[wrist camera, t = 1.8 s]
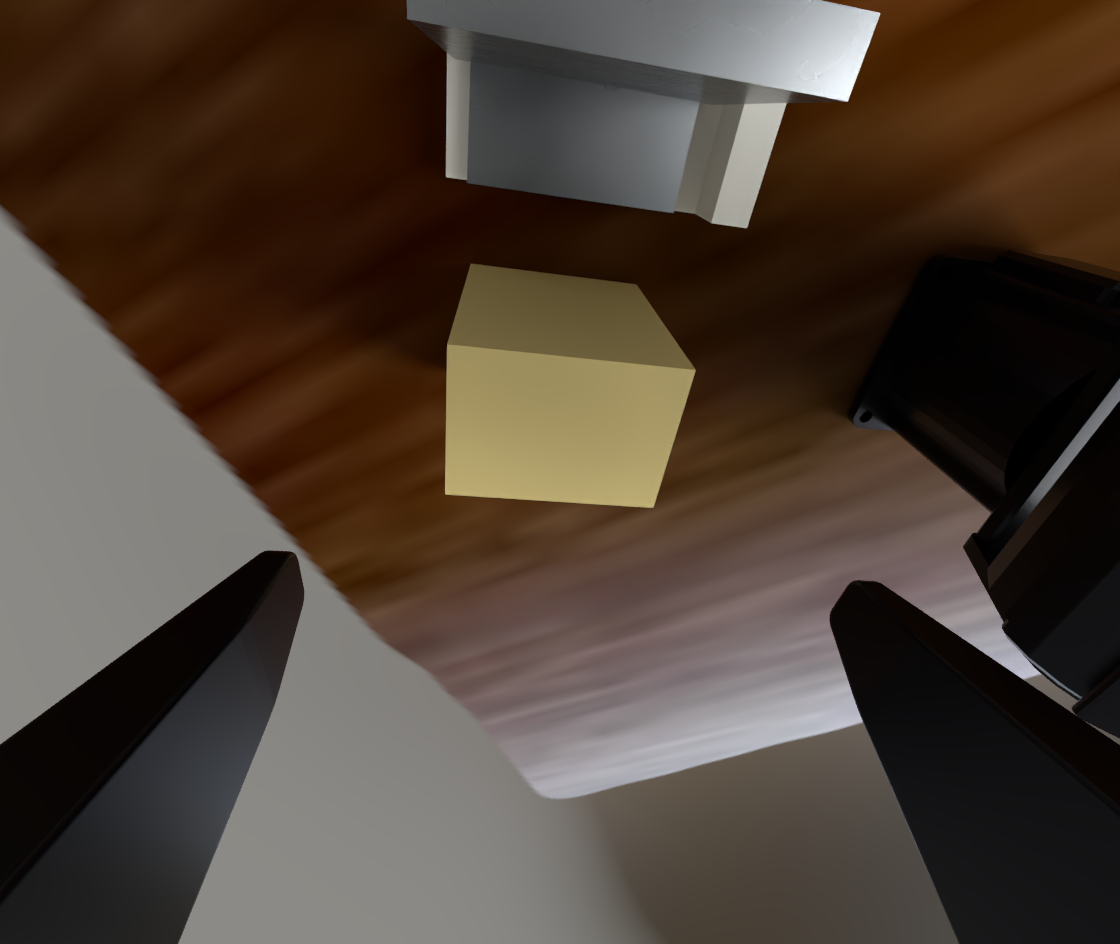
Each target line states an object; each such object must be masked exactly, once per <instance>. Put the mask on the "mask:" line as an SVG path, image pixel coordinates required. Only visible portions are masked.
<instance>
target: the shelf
mask: <svg viewBox="0 0 1120 944" xmlns="http://www.w3.org/2000/svg"><path fill="white" fill-rule="evenodd" d="M470 63H471V62H469V61H463V60H458V59H454V58H453V57H451V56H450V55H449V54H448V53H447V112H446V177H449V178H456V179H462V180H467V163H468V130H469V97H470ZM786 104H787V103H767V104H727V105H709V104H704V103H700V104H699V108H698V112H697V116H696V121H695V125H694V129H693V133H692V137H691V142H690V146H689V150H688V154H687V158H686V163H685V167H684V171H683V175H682V179H681V184H680V188H679V192H678V196H677V200H676V205H675V209H674V211H680V212H686V213H693V214H696V215H698V216H700V217H701V218H703V219H705V220H707V221H708V222H710V223H713V224H720V225H727V226H734V227H741V228H747V227H748V224H749V220H750V217H751V214H752V211H753V208H754V205H755V201H756V198H757V195H758V192H759V189H760V186H761V183H762V179H763V176H764V173H765V170H766V167H767V164H768V160H769V157H770V154H771V151H772V148H773V145H774V142H775V138H776V135H777V132H778V129H779V126H780V123H781V119H782V116H783V113H784V110H785V107H786Z"/></svg>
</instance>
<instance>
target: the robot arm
mask: <svg viewBox="0 0 1120 944" xmlns="http://www.w3.org/2000/svg"><path fill="white" fill-rule="evenodd" d="M943 266H944V269H943V271H942V273H941V274H940V275H938V276H937V277H936V275H937V272H938V270H939V269H940V268H941V267H943ZM864 412H866V414H865V415H864V416H862V417H860V416H861V415H862V414H863V413H864ZM848 419H849V420H850V421H851V422H852V423H853V424H854V425H855V426H856V427H859V428H867V429H878V430H889V431H895V432H896V433H897V434H899V435H900V436H901V437H902V438H903V439H904V440H906V441H907V442H908V443H909V444H910V445H912V446H913V447H914V448H915V449H916V450H917V451H919V452H920V453H921V454H922V455H923V456H925V457H926V458H927V459H928V460H929V461H930V462H932V463H933V464H934V465H935V466H936V467H938V468H939V469H940V470H941V471H942V472H943V473H945V474H946V475H947V476H948V477H949V478H951V479H952V480H953V481H954V482H955V483H956V484H958V485H959V486H960V487H961V488H962V489H964V490H965V491H966V492H967V493H968V494H969V495H971V496H972V497H973V498H974V499H975V500H977V501H978V502H979V503H980V504H981V505H982V506H984V507H985V508H986V509H987V510H988V511H990V512H991V514H990V516H989V517H988V518H987V520H986V521H985V523H984V524H983V525H982V527H981V528H980V529H979V531H978V532H977V533H973V534H972V535H971V536H970V537H969V539H968V540H967V542H966V543H965V544H964V546H963V548H964V550H965V552H966V554H967V555H968V557H969V559H970V561H971V563H972V565H973V567H974V568H975V570H976V572H977V574H978V576H979V578H980V579H981V581H982V583H983V585H984V587H985V589H986V590H987V592H988V594H989V596H990V598H991V600H992V601H993V603H994V605H995V607H996V609H997V611H998V612H999V614H1000V616H1001V618H1002V620H1003V622H1004V623H1003V624H1002V629H1003V631H1004V633H1005V634H1006V636H1007V638H1008V639H1009V640H1010V641H1011V642H1012V643H1013V644H1014V645H1015V646H1016V647H1017V648H1018V650H1019V651H1020V652H1021V653H1022V654H1023V655H1024V656H1025V657H1026V658H1027V660H1028V661H1029V662H1030V663H1031V664H1032V665H1033V666H1034V668H1035V669H1037V670H1038V671H1039V672H1040V673H1041V674H1043V675H1044V676H1045V677H1046V678H1047V679H1049V680H1050V681H1051V682H1052V683H1053V684H1055V685H1056V686H1057V687H1059V688H1060V689H1062V690H1063V691H1065V692H1066V693H1068V694H1069V695H1070V696H1072V697H1074V698H1075V699H1077V700H1078V701H1077V702H1076V703H1075V704H1074V705H1073V706H1072V710H1073V712H1074V713H1075V714H1076V715H1077V716H1078V717H1077V716H1076V715H1074V714H1073V713H1071V712H1070V711H1069V710H1067V709H1065V708H1064V707H1063V706H1061V705H1060V704H1058V703H1057V702H1055V701H1054V700H1052V699H1051V698H1049V697H1048V696H1046V695H1045V694H1043V693H1042V692H1041V691H1039V690H1037V689H1036V688H1035V687H1033V686H1032V685H1030V684H1029V683H1027V682H1026V681H1024V680H1023V679H1021V678H1020V677H1018V676H1017V675H1015V674H1014V673H1012V672H1011V671H1010V670H1008V669H1007V668H1005V667H1004V666H1002V665H1001V664H999V663H998V662H996V661H995V660H993V659H992V658H990V657H989V656H987V655H986V654H984V653H983V652H982V651H980V650H979V649H977V648H976V647H974V646H973V645H971V644H970V643H968V642H967V641H965V640H964V639H962V638H961V637H959V636H958V635H956V634H955V633H954V632H952V631H951V630H949V629H948V628H946V627H945V626H943V625H942V624H940V623H939V622H937V621H936V620H934V619H933V618H931V617H930V616H928V615H927V614H925V613H924V612H923V611H921V610H920V609H918V608H917V607H915V606H914V605H912V604H911V603H909V602H908V601H906V600H905V599H903V598H902V597H900V596H899V595H897V594H896V593H895V592H893V591H892V590H890V589H889V588H887V587H886V586H884V585H883V584H881V583H879V582H875V581H861V580H856V581H853V582H851V583H850V584H849V585H848V586H847V587H846V589H845V590H844V592H843V593H842V595H841V596H840V598H839V599H838V601H837V602H836V604H835V605H834V607H833V608H832V610H831V613H830V626H831V629H832V632H833V635H834V638H835V641H836V644H837V647H838V650H839V653H840V657H841V660H842V663H843V666H844V669H845V672H846V675H847V678H848V681H849V684H850V687H851V690H852V693H853V696H854V699H855V702H856V705H857V708H858V711H859V713H860V716H861V718H862V720H863V723H864V725H865V727H866V730H867V732H868V735H869V737H870V739H871V741H872V744H873V746H874V748H875V751H876V753H877V755H878V757H879V760H880V762H881V765H882V767H883V769H884V771H885V774H886V776H887V778H888V781H889V783H890V786H891V788H892V790H893V792H894V795H895V797H896V799H897V802H898V804H899V806H900V809H901V811H902V813H903V816H904V818H905V820H906V822H907V825H908V827H909V829H910V832H911V834H912V836H913V839H914V841H915V843H916V846H917V848H918V850H919V853H920V855H921V857H922V860H923V862H924V864H925V867H926V869H927V871H928V874H929V876H930V878H931V880H932V883H933V885H934V887H935V890H936V892H937V894H938V897H939V899H940V901H941V904H942V906H943V908H944V910H945V912H946V915H947V918H948V920H949V922H950V925H951V927H952V929H953V931H954V934H955V935H956V938H957V941H958V943H959V944H1120V745H1119V744H1117V743H1115V742H1114V741H1113V740H1111V739H1110V738H1108V737H1107V736H1105V735H1104V734H1102V733H1101V732H1099V731H1098V730H1096V729H1095V728H1094V727H1092V726H1091V725H1089V724H1087V723H1086V722H1088V723H1090V724H1092V725H1094V726H1096V727H1098V728H1100V729H1102V730H1104V731H1106V732H1108V733H1110V734H1112V735H1114V736H1116V737H1118V738H1120V272H1118V271H1114V270H1110V269H1107V268H1103V267H1099V266H1095V265H1092V264H1088V263H1084V262H1080V261H1077V260H1073V259H1068V258H1062V257H1055V256H1048V255H1042V254H1035V253H1028V252H1022V251H1015V250H1007V251H1005V252H1003V253H1001V254H999V255H998V256H997V258H996V260H995V261H987V260H980V259H973V258H967V257H960V256H953V255H946V254H942V255H937V256H935V257H933V258H932V259H930V260H929V261H928V262H927V263H926V265H925V266H924V268H923V269H922V271H921V273H920V275H919V277H918V279H917V281H916V283H915V285H914V287H913V289H912V291H911V292H910V294H909V296H908V298H907V300H906V302H905V304H904V306H903V308H902V310H901V312H900V314H899V316H898V318H897V320H896V322H895V323H894V325H893V327H892V329H891V331H890V333H889V335H888V337H887V339H886V341H885V343H884V345H883V347H882V349H881V351H880V352H879V354H878V356H877V358H876V360H875V362H874V364H873V366H872V368H871V370H870V372H869V374H868V376H867V378H866V380H865V381H864V383H863V385H862V387H861V389H860V391H859V393H858V395H857V397H856V399H855V401H854V403H853V405H852V407H851V409H850V410H849V413H848ZM303 601H304V587H303V582H302V578H301V572H300V567H299V562H298V559H297V556H296V554H295V553H293V552H289V551H264V552H262V553H260V554H259V555H257V556H256V557H255V558H253V559H252V560H250V561H249V562H248V563H246V564H245V565H244V566H242V567H241V568H240V569H238V570H237V571H236V572H234V573H233V574H231V575H230V576H229V577H227V578H226V579H225V580H223V581H222V582H221V583H219V584H218V585H217V586H215V587H214V588H212V589H211V590H210V591H209V592H207V593H206V594H204V595H203V596H202V597H200V598H199V599H197V600H196V601H195V602H193V603H192V604H191V605H189V606H188V607H187V608H185V609H184V610H183V611H181V612H180V613H178V614H177V615H176V616H174V617H173V618H172V619H170V620H169V621H167V622H166V623H165V624H163V625H162V626H161V627H159V628H158V629H157V630H155V631H154V632H153V633H151V634H150V635H149V636H147V637H146V638H144V639H143V640H142V641H140V642H139V643H138V644H136V645H135V646H133V647H132V648H131V649H130V650H128V651H127V652H125V653H124V654H123V655H121V656H120V657H119V658H117V659H116V660H114V661H113V662H112V663H110V664H109V665H108V666H106V667H105V668H104V669H102V670H101V671H100V672H98V673H97V674H95V675H94V676H93V677H91V678H90V679H89V680H87V681H86V682H85V683H83V684H82V685H81V686H79V687H78V688H77V689H75V690H74V691H72V692H71V693H70V694H68V695H67V696H66V697H64V698H63V699H61V700H60V701H59V702H57V703H56V704H55V705H53V706H52V707H51V708H50V709H48V710H47V711H45V712H44V713H42V714H41V715H40V716H38V717H37V718H36V719H34V720H33V721H32V722H30V723H29V724H28V725H26V726H25V727H23V728H22V729H21V730H19V731H18V732H17V733H15V734H14V735H12V736H11V737H10V738H8V739H7V740H6V741H4V742H3V743H2V744H0V944H178V943H179V940H180V938H181V935H182V933H183V931H184V928H185V925H186V923H187V921H188V918H189V916H190V913H191V911H192V908H193V906H194V903H195V901H196V898H197V896H198V894H199V891H200V889H201V886H202V884H203V881H204V879H205V876H206V874H207V871H208V869H209V866H210V864H211V861H212V859H213V856H214V854H215V851H216V849H217V847H218V844H219V842H220V839H221V837H222V834H223V832H224V829H225V827H226V824H227V822H228V819H229V817H230V814H231V812H232V809H233V807H234V805H235V802H236V800H237V797H238V795H239V792H240V790H241V787H242V785H243V783H244V780H245V778H246V775H247V772H248V770H249V767H250V765H251V763H252V760H253V758H254V755H255V753H256V750H257V748H258V746H259V743H260V741H261V738H262V736H263V733H264V731H265V728H266V726H267V723H268V721H269V718H270V715H271V712H272V710H273V707H274V705H275V702H276V698H277V695H278V692H279V689H280V685H281V682H282V678H283V674H284V671H285V667H286V664H287V660H288V656H289V653H290V649H291V646H292V642H293V638H294V635H295V631H296V627H297V624H298V621H299V617H300V613H301V610H302V606H303ZM1083 720H1084V721H1083ZM1085 721H1086V722H1085Z"/></svg>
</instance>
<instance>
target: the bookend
mask: <svg viewBox="0 0 1120 944" xmlns="http://www.w3.org/2000/svg"><path fill="white" fill-rule="evenodd" d="M879 16H880V13H877V12H872V11H868V10H863V9H859V8H854V7H849V6H845V5H840V4H835V3H831V2H826V1H821V0H407V19H408V20H409V21H410V22H411V23H412V24H414V25H415V26H416V27H417V28H418V29H420V30H421V31H422V32H423V33H424V34H425V35H427V36H428V37H429V38H430V39H431V40H433V41H434V42H435V43H436V44H437V45H438V46H440V47H441V48H442V49H443V50H444V51H446V52H447V53H448V54H449V55H450V56H451V57H453V58H454V59H458V60H463V61H469V62H471V63H470V97H469V130H468V163H467V183H470V184H477V185H484V186H491V187H497V188H504V189H511V190H518V191H525V192H532V193H538V194H545V195H552V196H559V197H566V198H572V199H579V200H586V201H593V202H600V203H607V204H613V205H620V206H627V207H634V208H641V209H648V210H654V211H661V212H668V213H674V209H675V205H676V200H677V196H678V192H679V188H680V184H681V179H682V175H683V171H684V167H685V163H686V158H687V154H688V150H689V146H690V142H691V137H692V133H693V129H694V125H695V121H696V116H697V112H698V108H699V104H700V103H704V104H709V105H727V104H767V103H807V102H848V99H849V97H850V94H851V91H852V88H853V86H854V83H855V80H856V78H857V75H858V72H859V70H860V67H861V64H862V62H863V59H864V56H865V53H866V51H867V48H868V45H869V43H870V40H871V37H872V35H873V32H874V29H875V27H876V24H877V21H878V18H879Z"/></svg>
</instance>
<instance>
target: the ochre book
mask: <svg viewBox="0 0 1120 944" xmlns="http://www.w3.org/2000/svg"><path fill="white" fill-rule="evenodd" d="M695 371H696V370H695V368H694V367H693V365H692V364H691V362H690V361H689V360H688V358H687V357H686V355H685V354H684V352H683V351H682V349H681V348H680V347H679V345H678V344H677V342H676V341H675V339H674V338H673V336H672V335H671V334H670V332H669V331H668V329H667V328H666V326H665V325H664V323H663V322H662V321H661V319H660V318H659V316H658V315H657V313H656V312H655V310H654V309H653V308H652V306H651V305H650V303H649V302H648V300H647V299H646V297H645V296H644V295H643V293H642V292H641V290H640V289H639V287H638V286H637V284H630V283H622V282H614V281H606V280H598V279H590V278H582V277H574V276H566V275H558V274H550V273H542V272H534V271H526V270H518V269H510V268H502V267H494V266H486V265H478V264H471V265H470V268H469V272H468V275H467V278H466V282H465V285H464V289H463V292H462V295H461V299H460V302H459V306H458V309H457V312H456V316H455V319H454V323H453V326H452V329H451V333H450V336H449V340H448V343H447V391H446V468H445V494H447V495H463V496H478V497H494V498H509V499H524V500H540V501H555V502H571V503H586V504H602V505H617V506H633V507H648V508H653V507H654V504H655V501H656V497H657V494H658V491H659V488H660V484H661V481H662V478H663V475H664V472H665V468H666V465H667V462H668V459H669V455H670V452H671V449H672V446H673V442H674V439H675V436H676V433H677V429H678V426H679V423H680V420H681V417H682V413H683V410H684V407H685V404H686V400H687V397H688V394H689V391H690V387H691V384H692V381H693V378H694V374H695Z"/></svg>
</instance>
